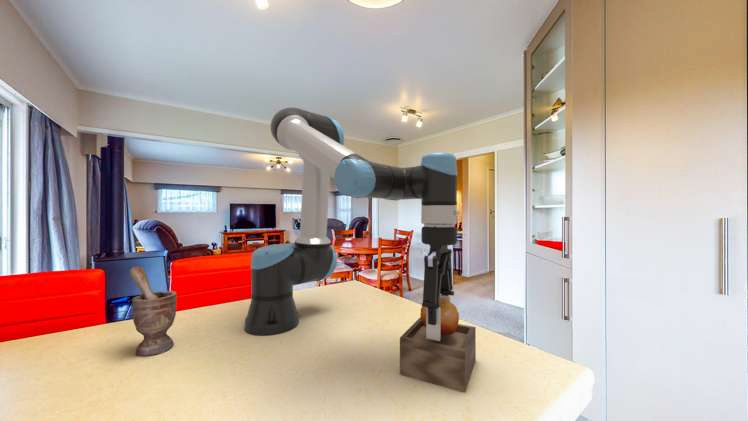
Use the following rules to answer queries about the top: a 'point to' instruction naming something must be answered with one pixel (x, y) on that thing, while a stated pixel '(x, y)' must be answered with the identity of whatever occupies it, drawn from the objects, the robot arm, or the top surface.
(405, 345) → the open wooden box
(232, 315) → the top surface
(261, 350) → the top surface
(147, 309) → the mortar and pestle
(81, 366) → the top surface
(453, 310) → the fruit
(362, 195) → the robot arm
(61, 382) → the top surface
